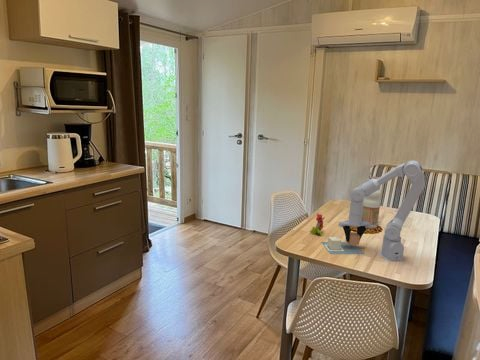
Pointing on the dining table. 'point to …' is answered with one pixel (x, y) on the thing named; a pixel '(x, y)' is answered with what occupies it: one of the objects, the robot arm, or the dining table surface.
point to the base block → (334, 243)
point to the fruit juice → (371, 208)
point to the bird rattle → (318, 225)
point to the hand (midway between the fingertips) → (352, 241)
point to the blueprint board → (344, 249)
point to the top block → (354, 239)
